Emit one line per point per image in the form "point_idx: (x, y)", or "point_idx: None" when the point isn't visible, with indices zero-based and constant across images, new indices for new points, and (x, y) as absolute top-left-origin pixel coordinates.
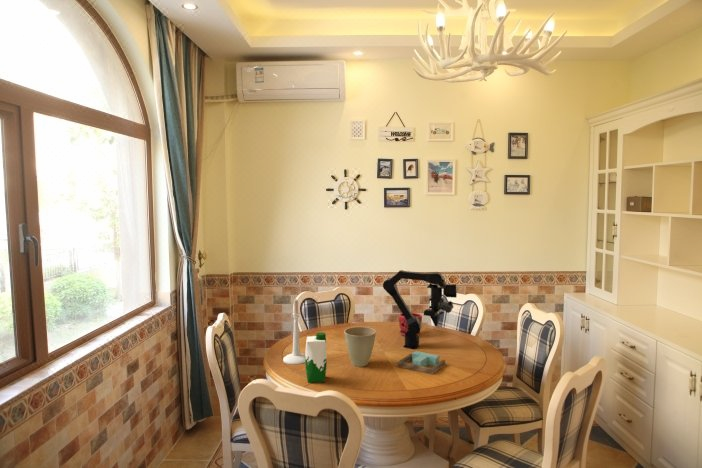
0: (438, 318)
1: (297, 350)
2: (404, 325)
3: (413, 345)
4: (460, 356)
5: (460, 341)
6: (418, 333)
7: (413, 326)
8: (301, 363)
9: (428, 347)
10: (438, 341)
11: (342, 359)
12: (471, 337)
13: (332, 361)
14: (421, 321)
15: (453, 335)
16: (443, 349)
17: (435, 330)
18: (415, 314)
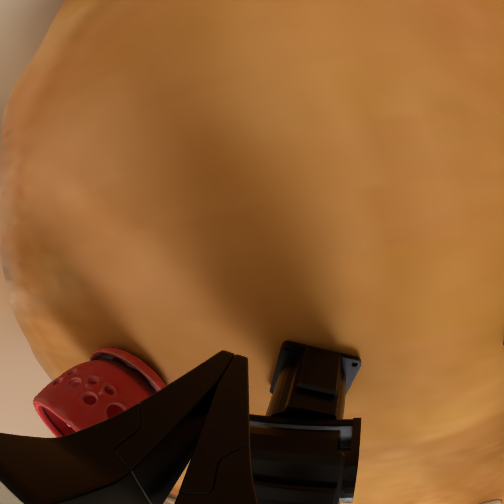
0: (160, 447)
1: None
2: (108, 416)
3: (341, 376)
4: (401, 19)
5: (77, 115)
6: (122, 358)
7: (351, 501)
8: (500, 501)
9: (287, 284)
10: (134, 240)
11: (488, 479)
12: (19, 97)
13: (498, 483)
14: (65, 384)
15: (28, 186)
16: (288, 169)
17: (29, 278)
18: (44, 413)
